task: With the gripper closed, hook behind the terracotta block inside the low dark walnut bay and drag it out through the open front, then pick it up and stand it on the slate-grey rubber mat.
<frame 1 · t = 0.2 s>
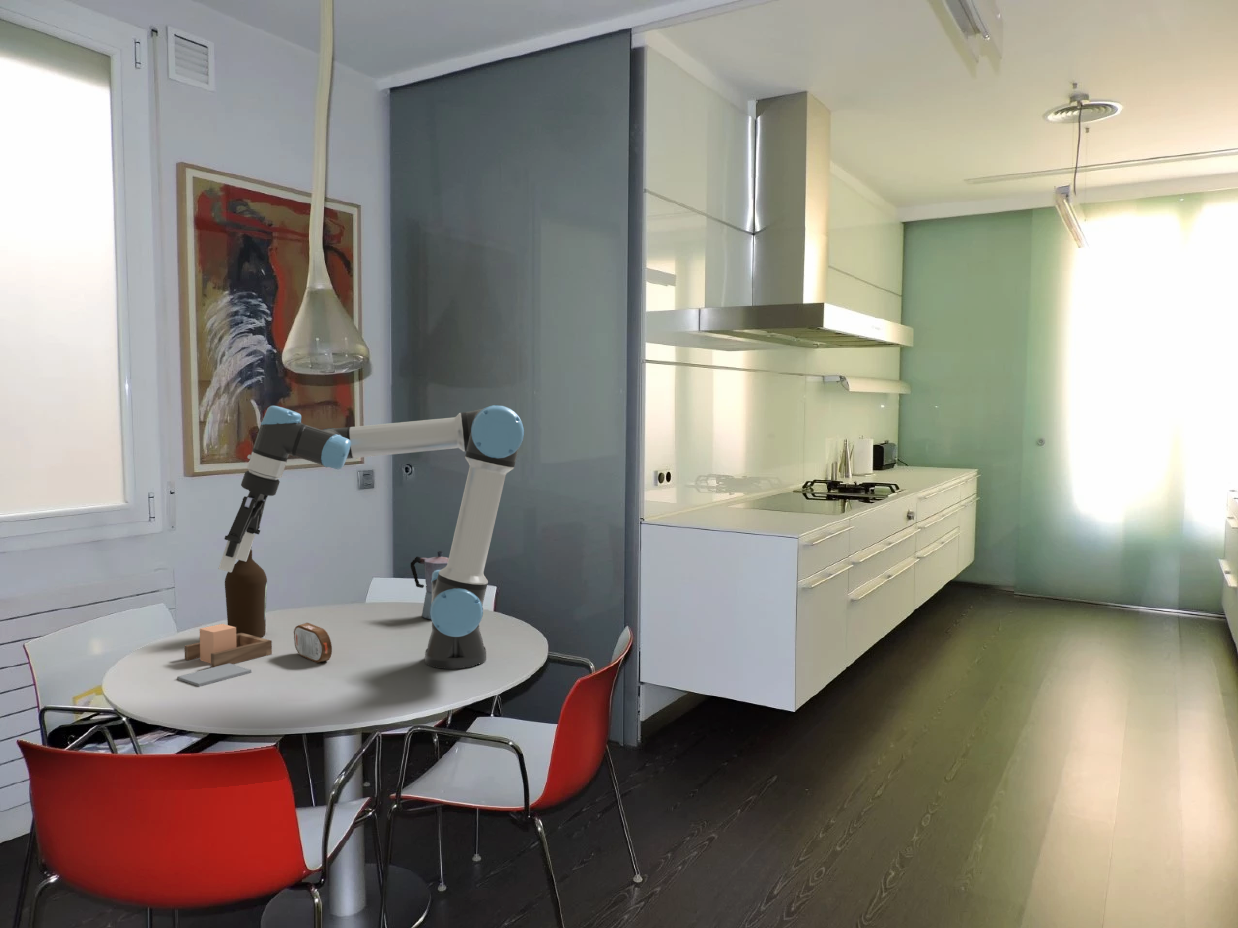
hand: (232, 565, 197), 28 cm above the table, tool tilted 20°, fingers open, 13 cm apart
tin: (312, 659, 221), on the table
moka pot: (435, 617, 266), on the table
mat: (214, 675, 207), on the table
bay: (229, 656, 222), on the table
olive oil: (247, 636, 242), on the table
block: (218, 659, 220), on the table
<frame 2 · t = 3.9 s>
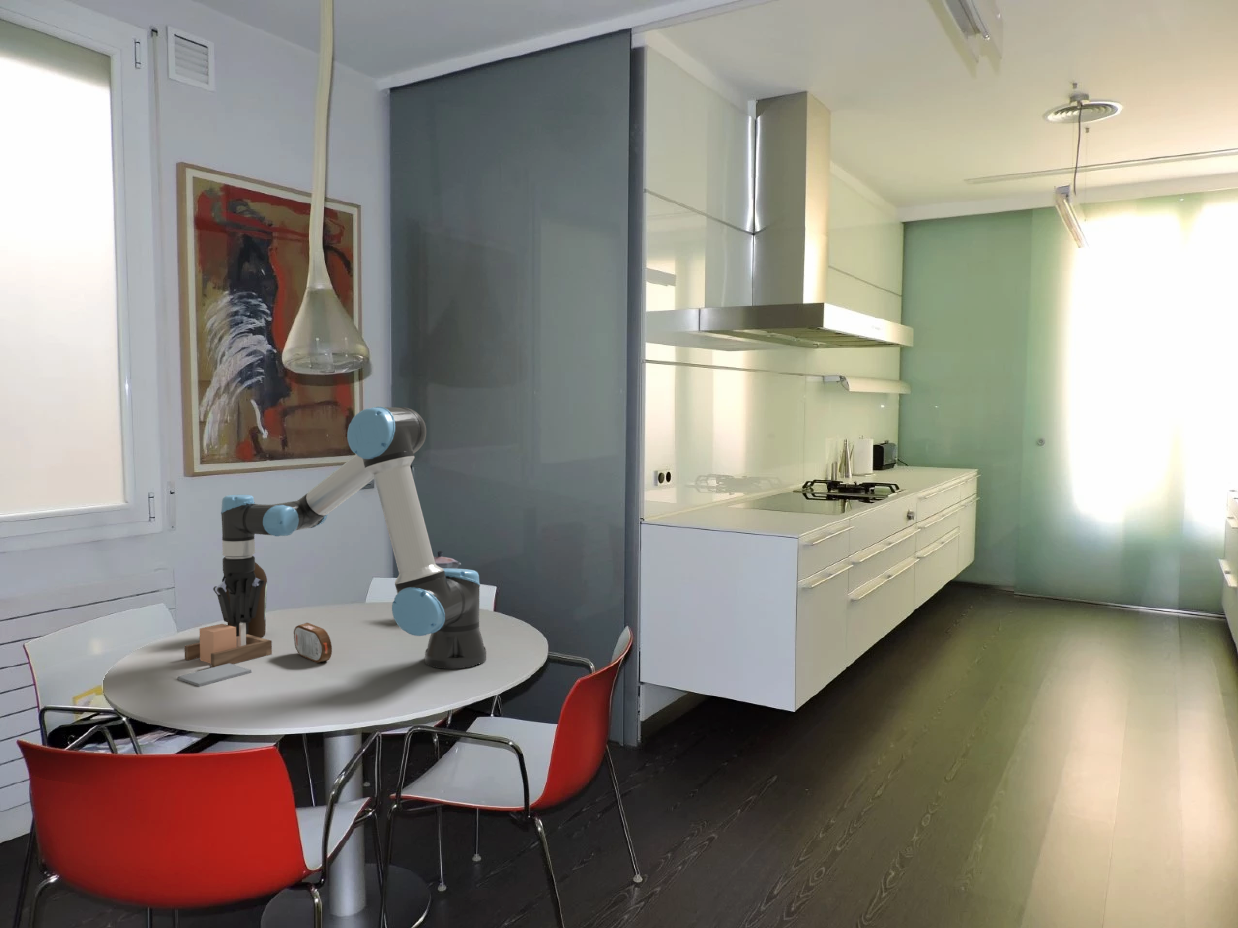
hand: (240, 647, 225), 2 cm above the table, tool pointing down, fingers closed
block: (218, 659, 220), on the table, touching gripper
everything else where it was.
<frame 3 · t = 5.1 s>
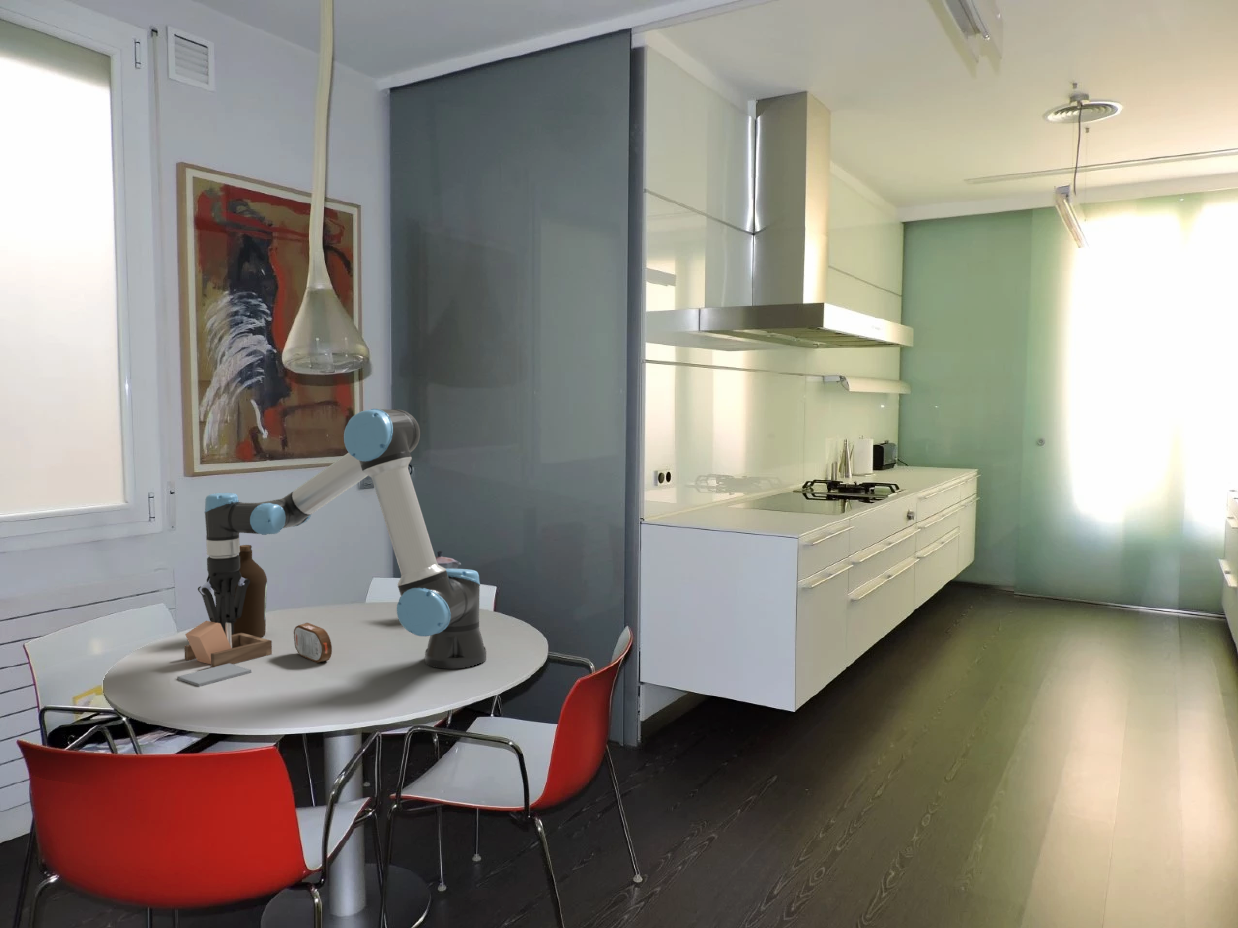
hand: (226, 647, 222), 2 cm above the table, tool pointing down, fingers closed
block: (215, 655, 219), point 1 cm above the table, tilted 22°, touching gripper, hand
everything else where it was.
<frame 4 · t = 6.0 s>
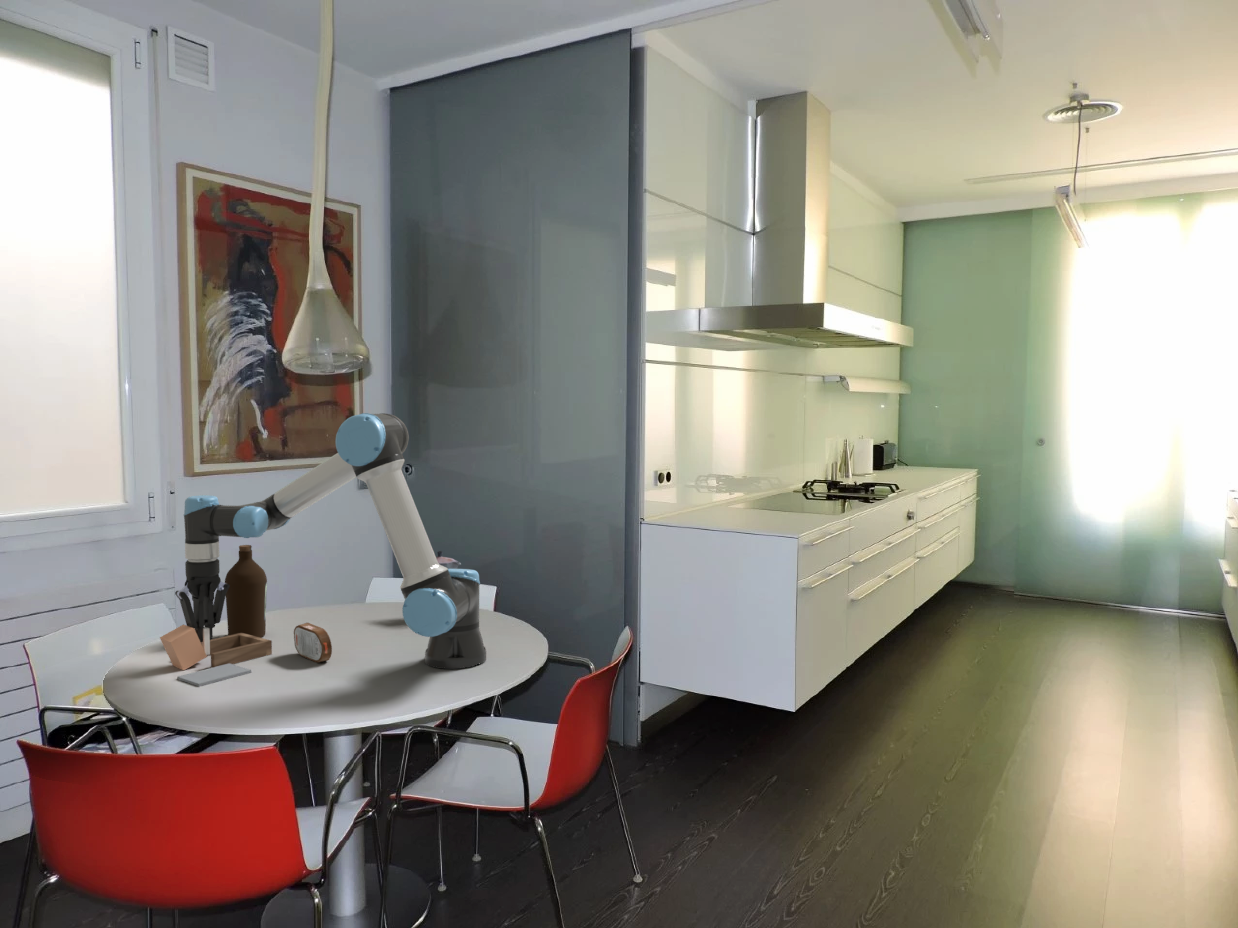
hand: (204, 653, 217), 2 cm above the table, tool pointing down, fingers closed
block: (190, 661, 215), point 1 cm above the table, tilted 21°, touching gripper, hand
everything else where it was.
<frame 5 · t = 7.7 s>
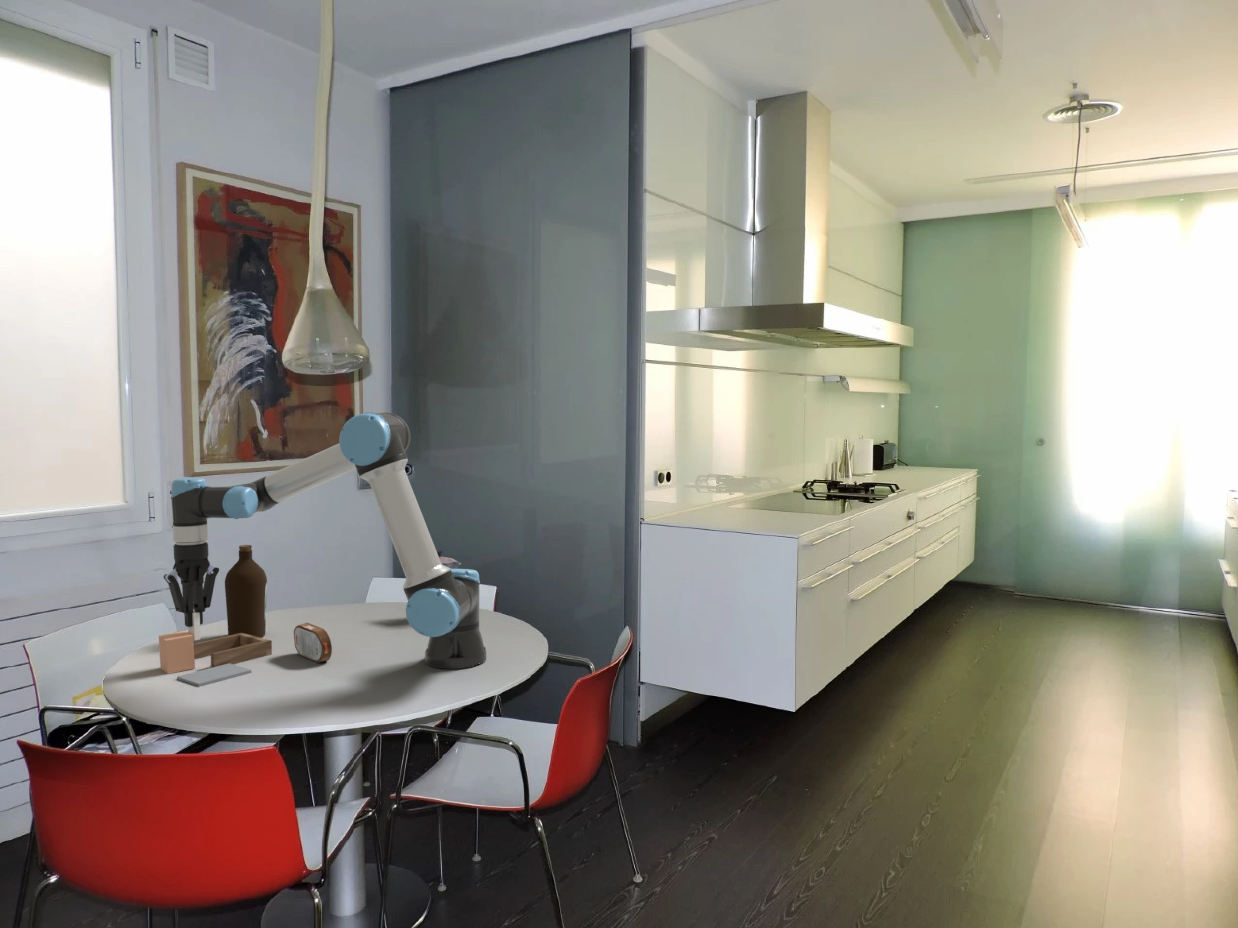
hand: (194, 638, 214), 7 cm above the table, tool pointing down, fingers closed
block: (177, 668, 212), on the table, touching gripper
everything else where it was.
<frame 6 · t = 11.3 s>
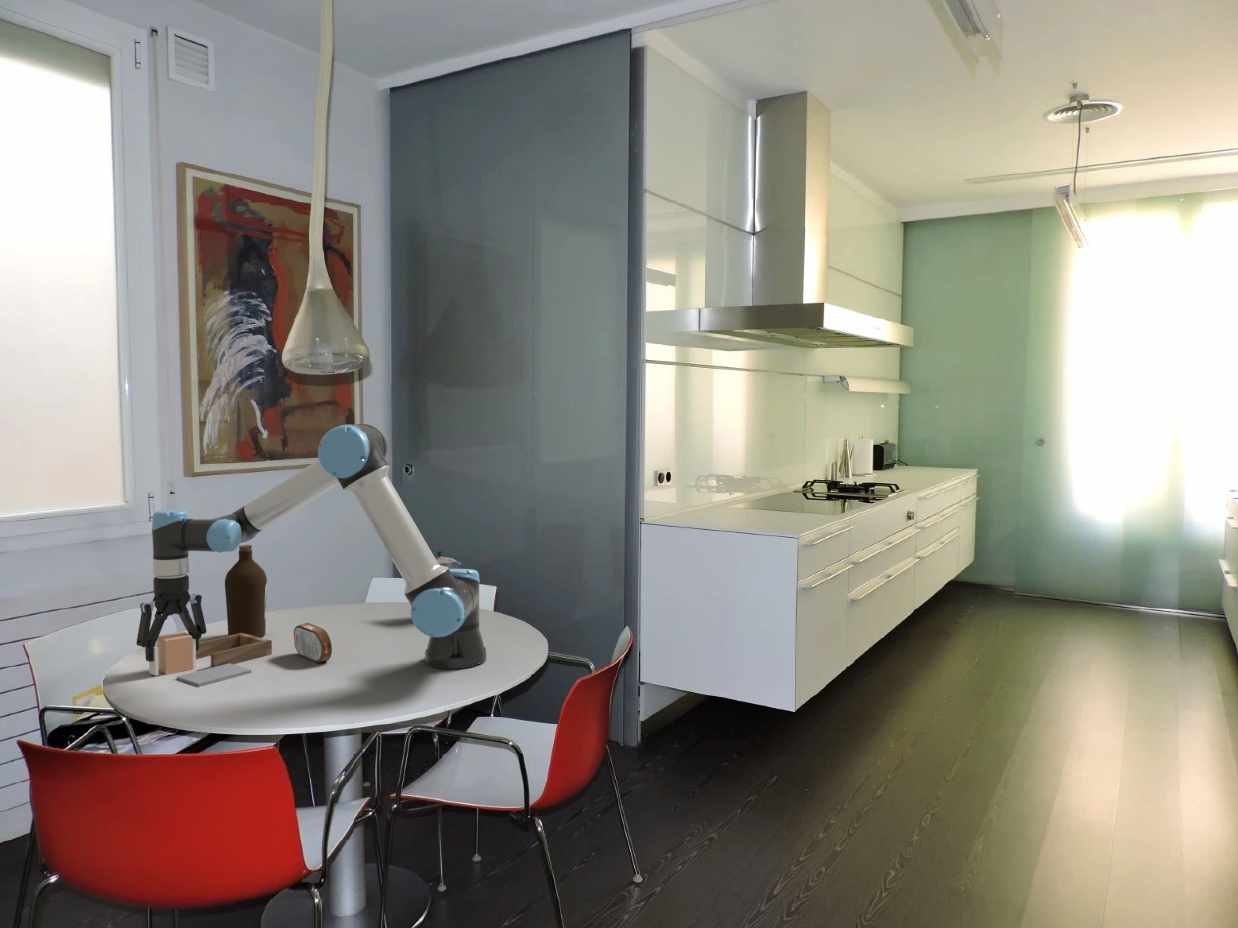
hand: (173, 669, 210), 0 cm above the table, tool pointing down, fingers open, 8 cm apart
nothing on the table moved.
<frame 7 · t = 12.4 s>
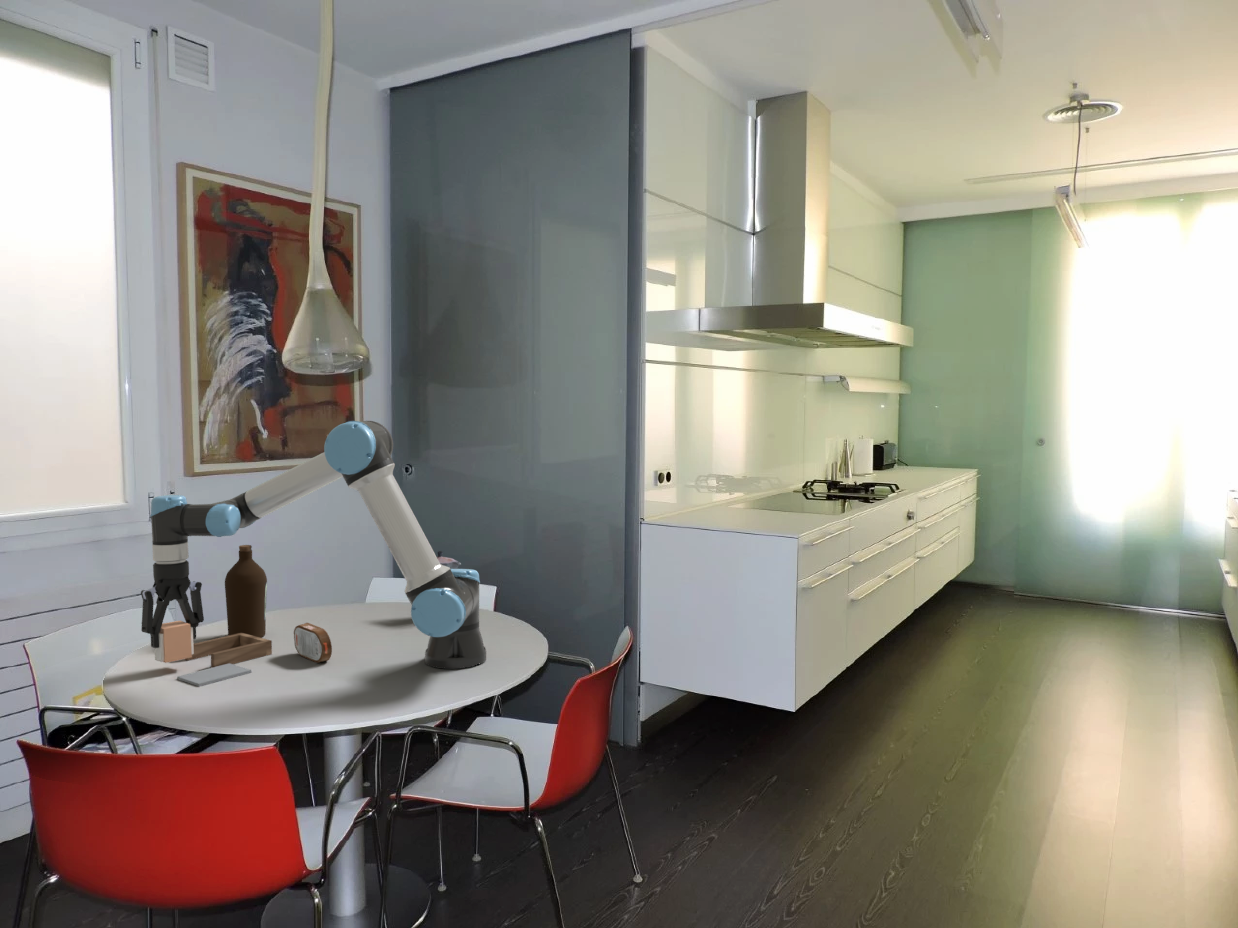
hand: (174, 656, 210), 3 cm above the table, tool pointing down, fingers closed on block, 6 cm apart
block: (173, 657, 211), point 3 cm above the table, touching gripper
everything else where it was.
when the fingers open (2 cm above the table, at t = 16.9 s): block stays where it is, resting on mat.
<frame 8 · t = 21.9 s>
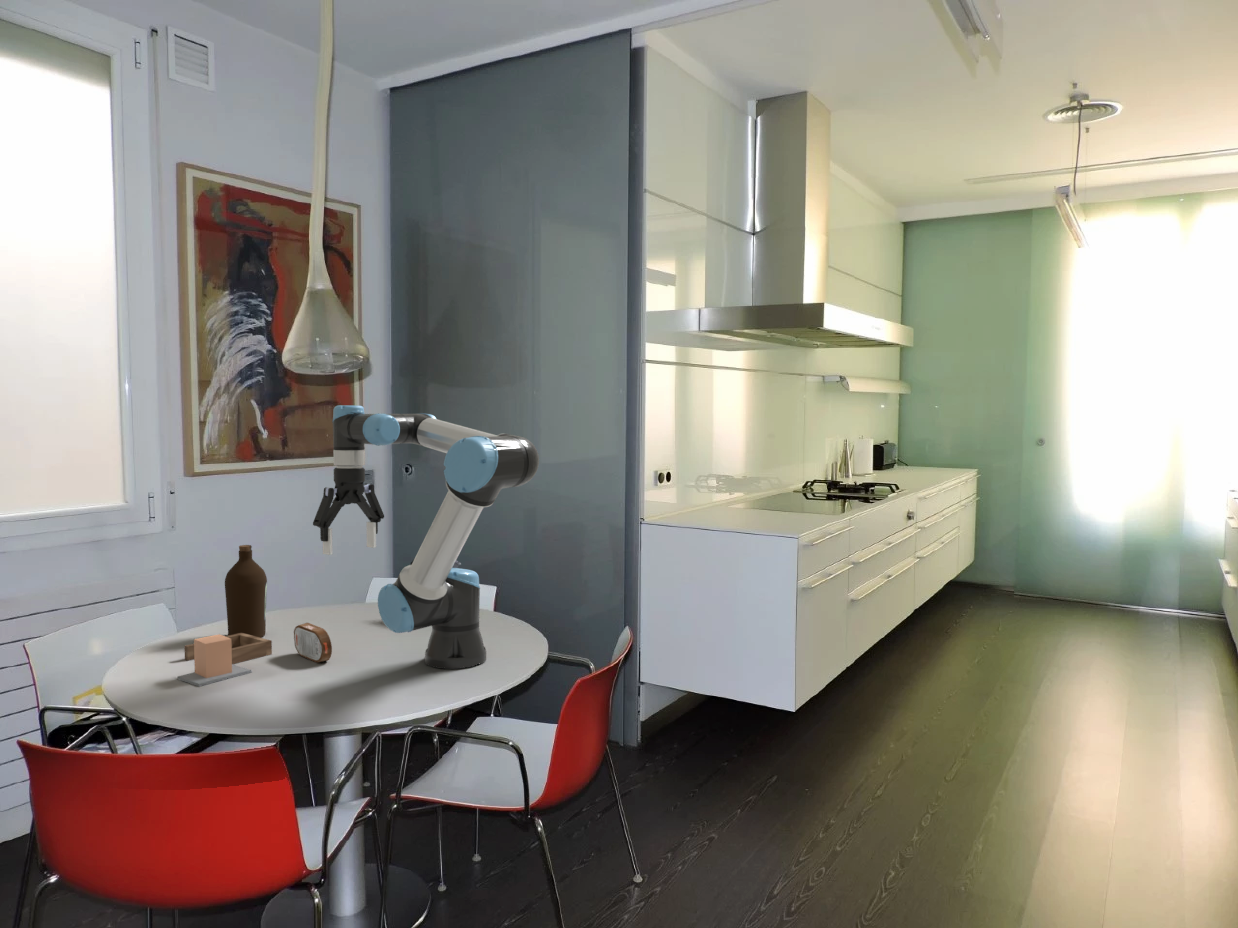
hand: (350, 550, 223), 27 cm above the table, tool pointing down, fingers open, 13 cm apart
block: (213, 672, 207), point 1 cm above the table, touching mat
everything else where it was.
at the end: block inside the target area on the mat (0.6 cm from its centre), point 0.6 cm above the mat's base; block tilted 0°; the gripper is holding nothing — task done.
